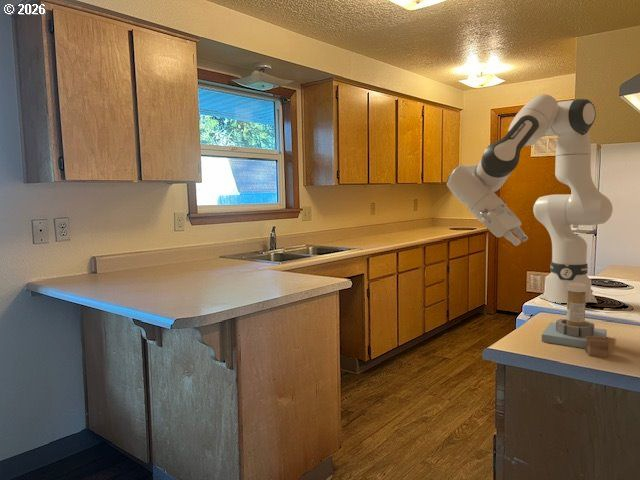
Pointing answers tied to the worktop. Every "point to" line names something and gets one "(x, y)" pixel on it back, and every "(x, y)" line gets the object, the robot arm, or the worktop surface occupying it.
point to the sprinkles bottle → (576, 304)
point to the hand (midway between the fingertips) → (522, 242)
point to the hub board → (570, 333)
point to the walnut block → (596, 346)
